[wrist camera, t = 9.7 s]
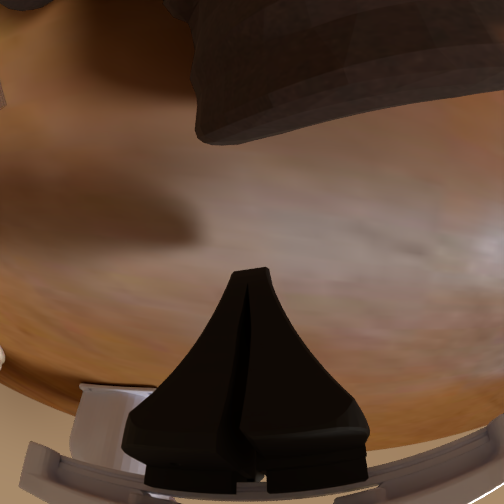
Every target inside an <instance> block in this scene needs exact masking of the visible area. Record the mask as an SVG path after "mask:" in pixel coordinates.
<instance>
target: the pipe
mask: <svg viewBox="0 0 504 504" xmlns="http://www.w3.org/2000/svg"><path fill="white" fill-rule="evenodd" d="M52 1H53V0H0V4H2V5H4V6H5V7H7V8H9V9H14V10H18V11H26V10H32V9H37V8H41V7H43V6H45V5H47V4H48V3H50V2H52ZM163 5H164V6H165V7H166V8H167V10H168V11H169V12H170V13H171V15H172V16H173V17H174V18H177V19H179V20H182V21H184V22H187V23H188V24H189V27H190V28H191V33H192V38H193V43H194V47H195V54H194V59H193V64H192V69H191V74H190V80H191V83H192V86H193V88H194V91H195V93H196V97H197V113H196V123H195V132H196V135H197V138H198V139H199V140H201V141H202V142H203V143H207V144H210V145H221V146H222V145H238V144H242V143H246V142H250V141H254V140H258V139H262V138H266V137H270V136H274V135H279V134H283V133H286V132H290V131H293V130H297V129H300V128H304V127H307V126H311V125H315V124H319V123H323V122H327V121H331V120H335V119H339V118H343V117H347V116H352V115H356V114H360V113H365V112H370V111H375V110H380V109H385V108H390V107H395V106H401V105H406V104H412V103H418V102H425V101H432V100H439V99H446V98H455V97H460V96H466V95H472V94H478V93H485V92H492V91H499V90H504V0H164V1H163Z"/></svg>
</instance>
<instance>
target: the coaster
mask: <svg viewBox="0 0 504 504" xmlns="http://www.w3.org/2000/svg"><path fill="white" fill-rule="evenodd" d="M4 362H5V354H4V351H3V349H2V347H1V346H0V370H1V368H2V364H3V363H4Z"/></svg>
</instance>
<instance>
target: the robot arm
mask: <svg viewBox="0 0 504 504" xmlns="http://www.w3.org/2000/svg"><path fill="white" fill-rule="evenodd" d="M79 388H80V389H81V390H82V391H83V394H82V397H81V400H80V403H79V406H78V410H77V413H76V417H75V420H74V424H73V428H72V431H71V435H70V451H71V455H72V458H73V459H72V458H69V457H66V456H62V455H60V454H59V453H57V452H56V451H54V450H52V449H50V448H48V447H46V446H43V445H41V444H38V443H35V442H33V441H30V442H29V445H28V449H27V453H26V457H25V460H24V464H23V469H22V473H21V477H20V482H19V487H20V488H21V489H23V490H25V491H27V492H29V493H30V494H32V495H34V496H36V497H38V498H39V499H41V500H43V501H45V502H47V503H49V504H180V503H177V502H176V501H175V499H174V498H173V497H179V498H187V499H198V500H212V501H213V500H214V501H275V500H276V501H278V500H292V499H302V498H310V497H319V496H326V495H333V494H339V493H344V492H350V491H355V490H360V489H364V488H369V487H373V486H377V485H379V486H378V487H377V488H374V489H370V490H366V491H362V492H358V493H354V494H350V495H346V496H342V497H337V498H336V499H335V500H334V503H333V504H471V503H473V502H475V501H477V500H479V499H480V498H482V497H484V496H485V495H487V494H489V493H491V492H492V491H494V490H495V489H497V488H499V487H500V486H502V485H504V413H503V414H501V415H500V416H498V417H496V418H495V419H493V420H492V421H491V422H490V423H489V424H488V425H487V426H486V427H484V428H482V429H480V430H478V431H476V432H474V433H471V434H469V435H467V436H465V437H462V438H460V439H458V440H455V441H453V442H450V443H448V444H445V445H442V446H440V447H437V448H434V449H432V450H429V451H426V452H423V453H420V454H417V455H414V456H411V457H407V458H404V459H401V460H397V461H394V462H390V463H386V464H382V465H378V466H374V467H370V468H367V463H366V456H367V453H366V447H365V443H366V441H367V439H368V437H369V435H370V429H369V426H368V423H367V420H366V418H365V416H364V414H363V412H362V411H361V409H360V407H359V406H358V404H357V402H356V401H355V399H354V398H353V397H352V396H351V395H350V394H349V393H348V392H347V391H346V390H345V389H344V388H343V387H342V386H341V385H340V384H339V383H338V382H337V381H336V380H335V379H334V378H333V377H332V376H331V375H330V374H329V373H328V372H327V371H326V370H325V369H324V367H323V366H322V365H321V364H320V363H319V361H318V360H317V359H316V358H315V357H314V355H313V354H312V353H311V352H310V350H309V349H308V348H307V346H306V345H305V344H304V342H303V341H302V339H301V338H300V337H299V335H298V334H297V332H296V331H295V329H294V327H293V326H292V324H291V322H290V321H289V319H288V317H287V316H286V314H285V312H284V310H283V308H282V306H281V304H280V302H279V300H278V298H277V295H276V293H275V291H274V288H273V285H272V280H271V276H270V271H269V269H268V268H267V267H261V268H255V269H248V270H241V271H234V272H233V273H232V275H231V277H230V280H229V282H228V285H227V287H226V289H225V291H224V293H223V296H222V298H221V300H220V302H219V304H218V306H217V308H216V310H215V312H214V313H213V315H212V317H211V319H210V320H209V322H208V324H207V326H206V327H205V329H204V331H203V332H202V334H201V335H200V337H199V338H198V340H197V341H196V343H195V344H194V346H193V347H192V348H191V350H190V351H189V353H188V354H187V355H186V356H185V358H184V359H183V360H182V361H181V363H180V364H179V365H178V366H177V368H176V369H175V370H174V371H173V372H172V373H171V374H170V375H169V376H168V377H167V379H166V380H165V381H164V382H163V383H162V384H161V385H160V386H159V387H158V388H157V389H156V388H139V387H119V386H105V385H94V384H83V383H80V385H79ZM264 474H265V475H266V476H267V482H260V481H261V480H262V479H263V478H264Z"/></svg>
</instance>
